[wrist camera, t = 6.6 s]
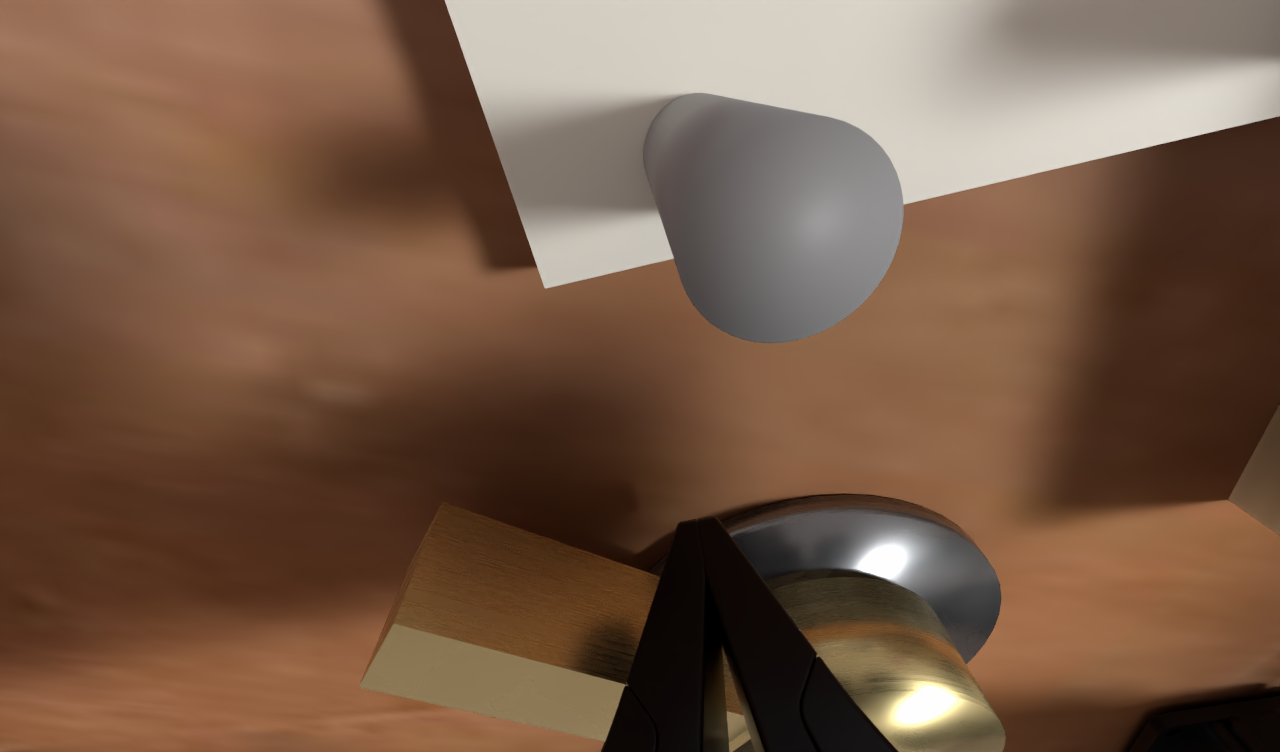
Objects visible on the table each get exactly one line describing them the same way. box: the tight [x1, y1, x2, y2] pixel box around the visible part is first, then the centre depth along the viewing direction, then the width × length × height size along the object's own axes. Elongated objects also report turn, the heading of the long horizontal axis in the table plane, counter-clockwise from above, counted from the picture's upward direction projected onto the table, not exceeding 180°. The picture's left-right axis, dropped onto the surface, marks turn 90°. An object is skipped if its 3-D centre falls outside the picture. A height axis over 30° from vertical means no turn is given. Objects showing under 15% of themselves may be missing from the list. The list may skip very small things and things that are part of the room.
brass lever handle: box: [359, 502, 1006, 752], centre depth 11 cm, size 14×7×3 cm, turn 59°
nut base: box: [648, 495, 1001, 664], centre depth 14 cm, size 10×10×1 cm
